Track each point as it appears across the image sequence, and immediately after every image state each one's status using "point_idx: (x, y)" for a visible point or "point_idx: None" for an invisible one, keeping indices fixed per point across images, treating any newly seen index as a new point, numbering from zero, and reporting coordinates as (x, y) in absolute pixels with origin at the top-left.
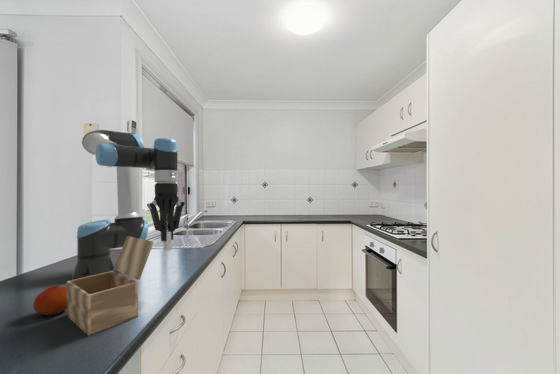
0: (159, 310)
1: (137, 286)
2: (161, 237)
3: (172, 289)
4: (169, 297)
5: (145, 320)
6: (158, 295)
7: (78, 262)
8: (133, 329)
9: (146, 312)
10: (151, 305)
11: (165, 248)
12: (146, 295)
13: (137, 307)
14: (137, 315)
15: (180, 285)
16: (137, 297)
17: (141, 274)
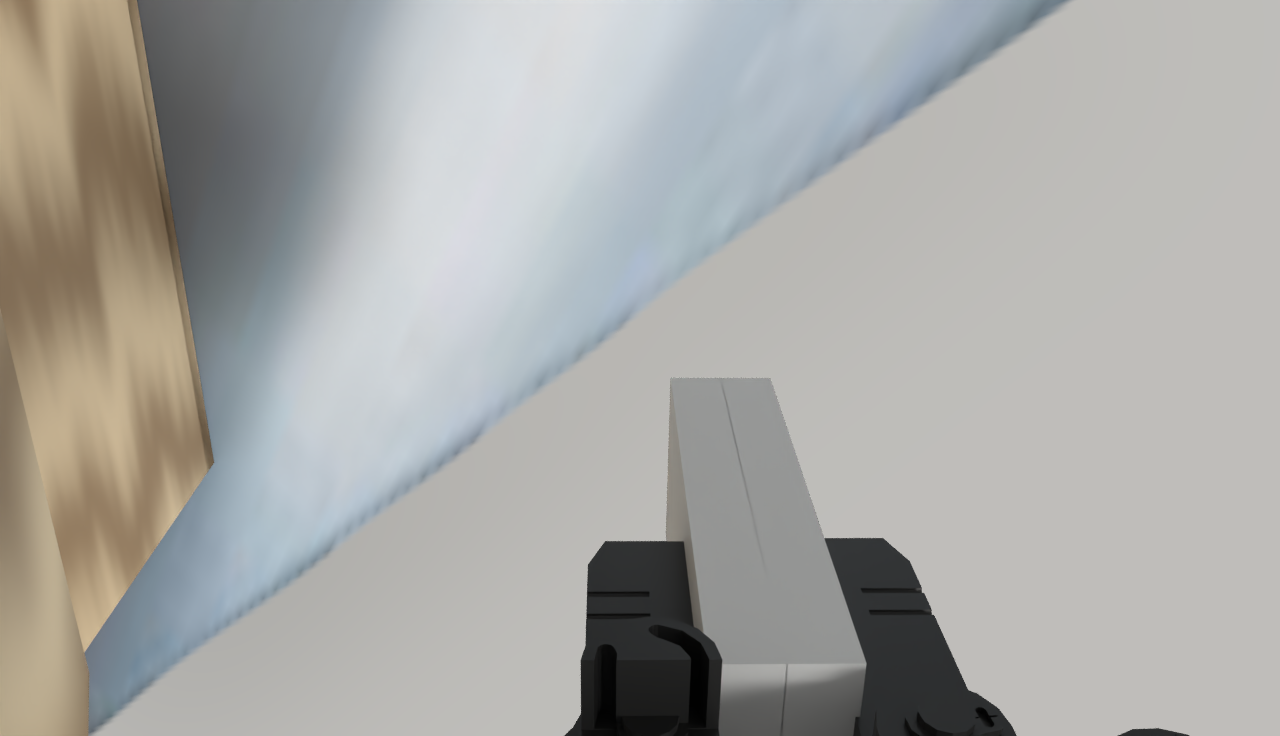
0: (403, 492)
1: (89, 642)
2: (587, 631)
3: (791, 96)
4: (624, 298)
5: (241, 564)
6: (578, 136)
7: None
8: (125, 621)
9: (302, 438)
10: (399, 333)
11: (671, 485)
12: (483, 3)
13: (179, 509)
14: (206, 468)
15: (942, 51)
16: (141, 564)
17: (88, 715)
